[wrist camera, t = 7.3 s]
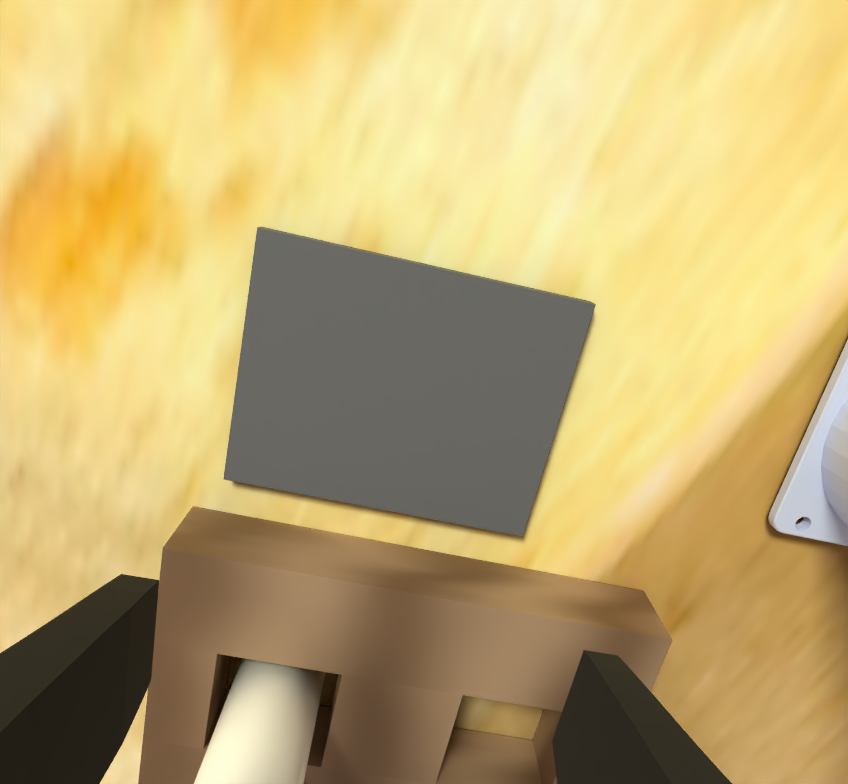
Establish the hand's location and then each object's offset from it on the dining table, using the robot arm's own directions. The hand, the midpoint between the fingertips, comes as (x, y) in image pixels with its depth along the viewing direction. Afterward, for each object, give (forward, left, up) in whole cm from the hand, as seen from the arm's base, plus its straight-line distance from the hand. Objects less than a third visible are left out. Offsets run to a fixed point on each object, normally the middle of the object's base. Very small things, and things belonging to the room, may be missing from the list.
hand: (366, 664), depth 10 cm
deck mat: (0, -2, -10) cm, 10 cm away
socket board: (-2, +9, -10) cm, 14 cm away
